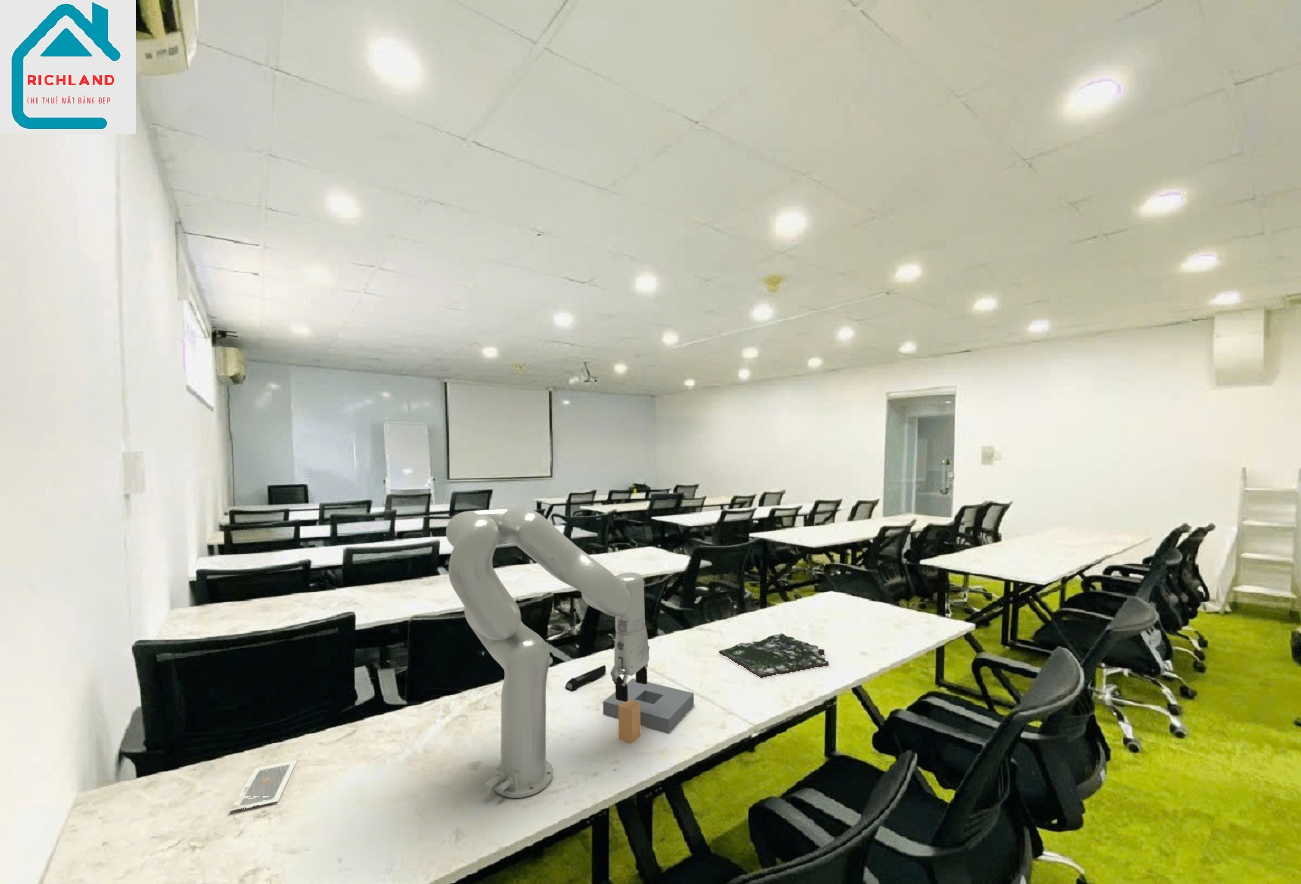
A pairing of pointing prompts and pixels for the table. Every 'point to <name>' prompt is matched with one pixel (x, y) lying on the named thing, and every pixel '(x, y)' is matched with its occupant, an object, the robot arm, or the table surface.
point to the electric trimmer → (585, 678)
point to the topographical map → (776, 655)
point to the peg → (629, 721)
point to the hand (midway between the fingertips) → (632, 691)
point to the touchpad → (266, 784)
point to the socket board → (654, 704)
